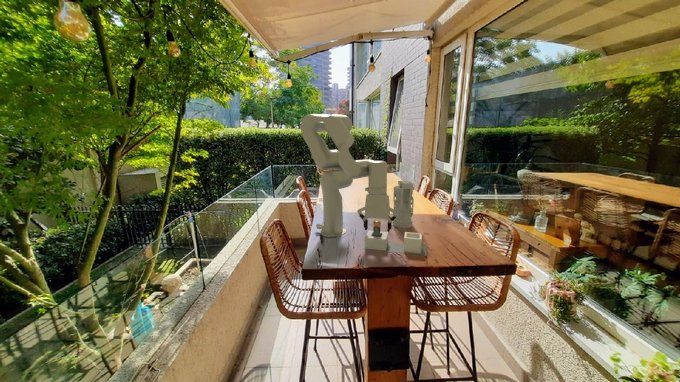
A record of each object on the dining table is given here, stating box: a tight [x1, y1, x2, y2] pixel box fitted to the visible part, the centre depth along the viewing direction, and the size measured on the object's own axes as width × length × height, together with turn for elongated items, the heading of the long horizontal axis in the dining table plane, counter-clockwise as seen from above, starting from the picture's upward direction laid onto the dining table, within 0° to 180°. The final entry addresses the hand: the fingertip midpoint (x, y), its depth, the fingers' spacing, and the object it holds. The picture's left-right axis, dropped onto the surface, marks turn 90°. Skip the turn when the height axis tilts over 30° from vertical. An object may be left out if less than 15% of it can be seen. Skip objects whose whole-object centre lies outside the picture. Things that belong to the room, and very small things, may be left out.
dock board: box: [361, 229, 427, 259], centre depth 113 cm, size 26×10×7 cm, turn 74°
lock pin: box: [372, 219, 382, 237], centre depth 114 cm, size 3×3×11 cm
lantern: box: [392, 180, 415, 229], centre depth 140 cm, size 13×10×25 cm
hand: (377, 229), depth 114 cm, fingers open, 9 cm apart
